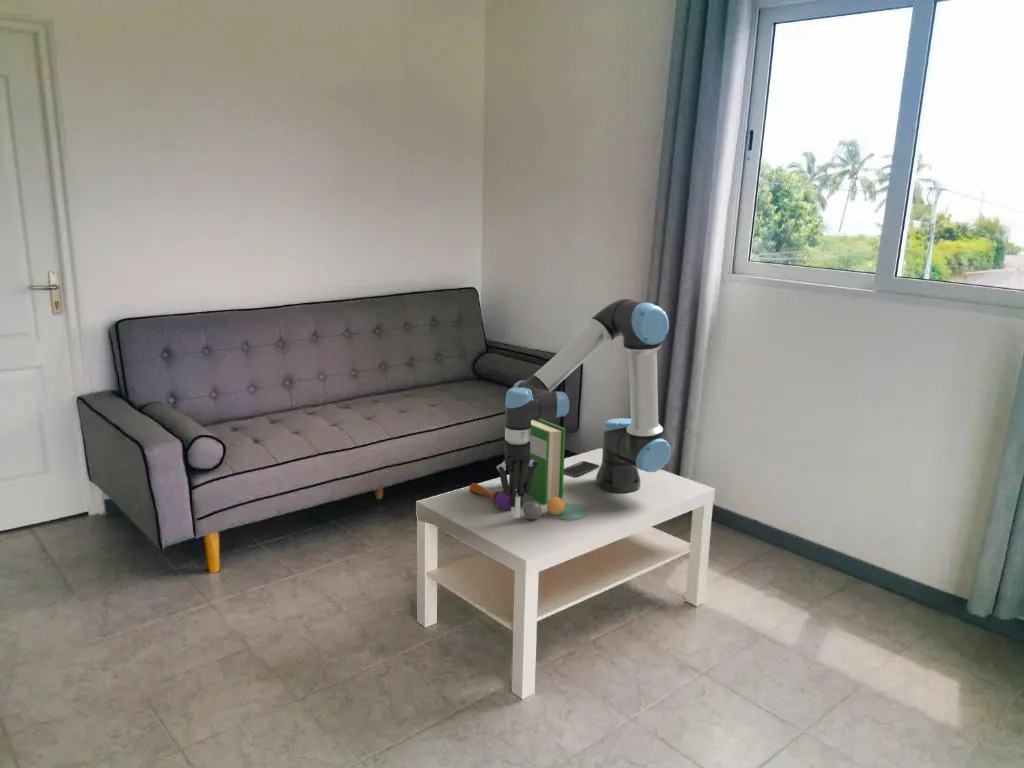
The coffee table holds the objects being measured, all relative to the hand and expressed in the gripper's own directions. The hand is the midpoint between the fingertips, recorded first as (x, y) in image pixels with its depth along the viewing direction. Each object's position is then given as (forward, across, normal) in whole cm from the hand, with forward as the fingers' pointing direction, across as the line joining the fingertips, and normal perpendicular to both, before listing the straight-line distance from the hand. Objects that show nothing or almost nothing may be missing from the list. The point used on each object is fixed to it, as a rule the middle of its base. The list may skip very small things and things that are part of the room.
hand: (515, 515), depth 225 cm
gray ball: (-1, +6, 0) cm, 6 cm away
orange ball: (-1, +14, 0) cm, 14 cm away
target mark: (+2, +18, 0) cm, 18 cm away
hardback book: (+2, +17, +18) cm, 24 cm away
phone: (+3, +42, +31) cm, 52 cm away
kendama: (+2, 0, +17) cm, 18 cm away
